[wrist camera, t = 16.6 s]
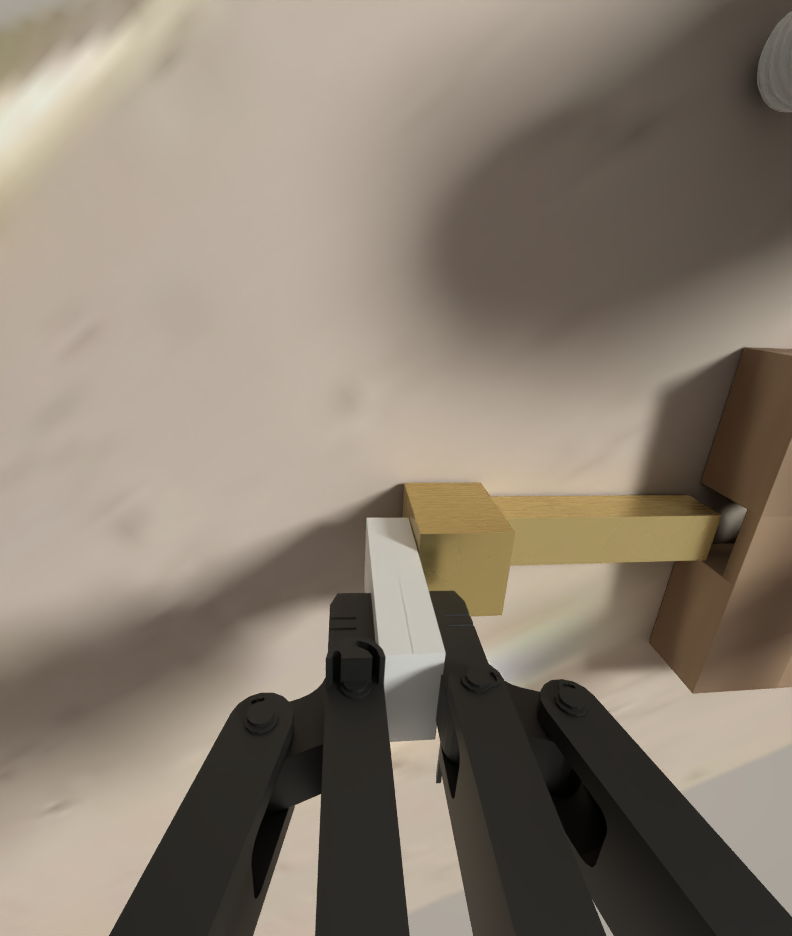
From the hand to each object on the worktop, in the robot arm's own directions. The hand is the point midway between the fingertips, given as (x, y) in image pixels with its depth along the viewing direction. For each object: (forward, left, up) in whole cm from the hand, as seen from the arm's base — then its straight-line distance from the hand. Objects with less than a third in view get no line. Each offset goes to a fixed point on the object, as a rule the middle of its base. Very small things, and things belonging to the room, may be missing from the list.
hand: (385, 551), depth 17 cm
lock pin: (+7, 0, -2) cm, 7 cm away
